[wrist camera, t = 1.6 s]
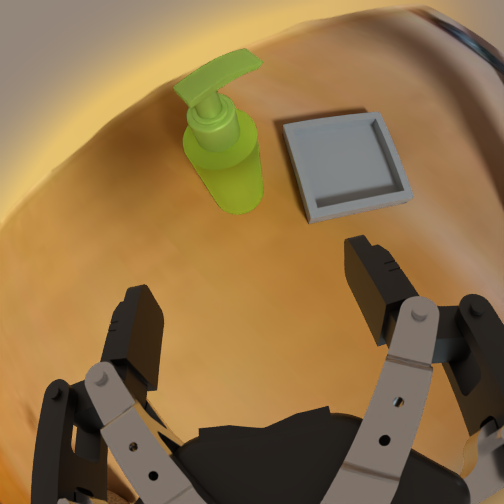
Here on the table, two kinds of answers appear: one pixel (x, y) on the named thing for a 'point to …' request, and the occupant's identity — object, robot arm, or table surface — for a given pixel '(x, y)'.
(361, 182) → the tray
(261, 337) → the table surface
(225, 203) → the soap dispenser
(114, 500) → the natural sponge
